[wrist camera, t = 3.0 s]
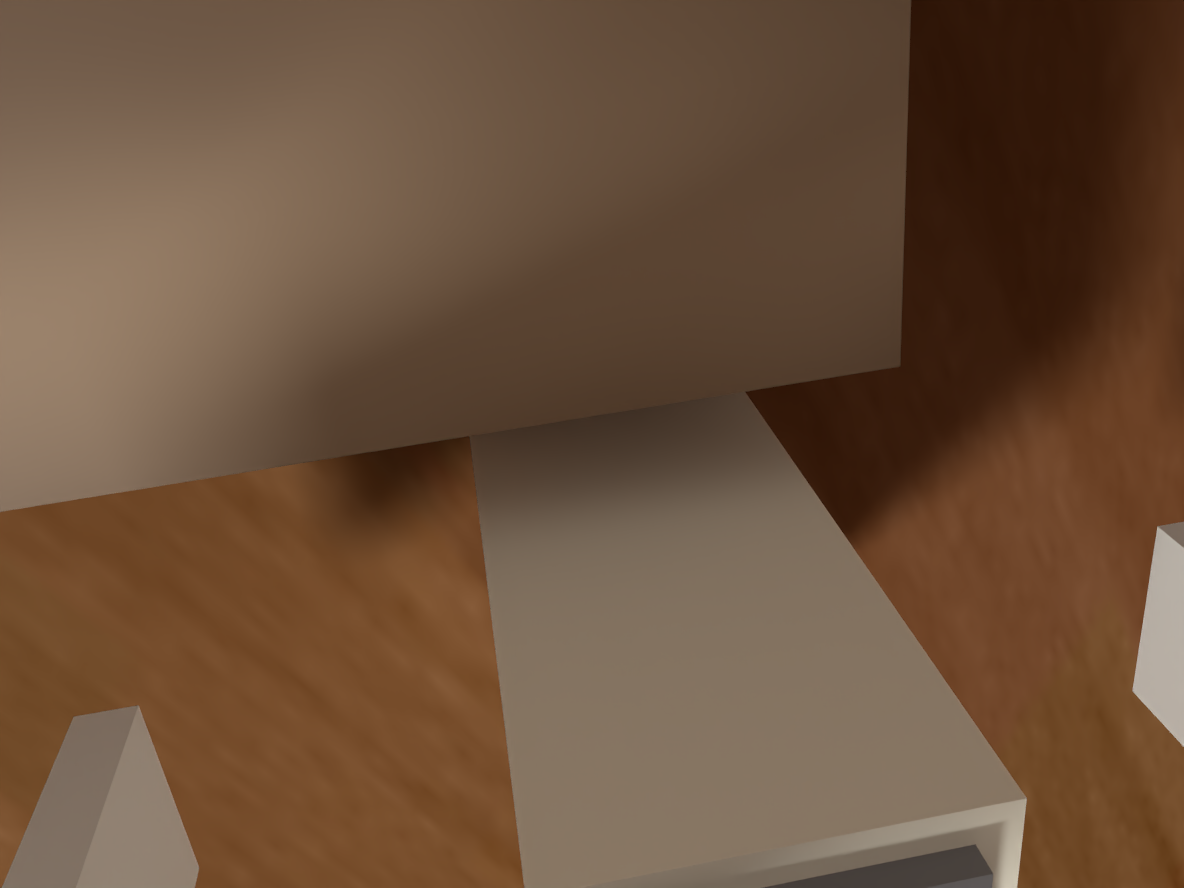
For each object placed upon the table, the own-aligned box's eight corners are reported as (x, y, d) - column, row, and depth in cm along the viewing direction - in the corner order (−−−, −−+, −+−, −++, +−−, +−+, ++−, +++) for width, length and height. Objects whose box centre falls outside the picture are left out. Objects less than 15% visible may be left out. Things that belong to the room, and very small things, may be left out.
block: (466, 408, 16) (529, 931, 8) (727, 366, 17) (1045, 827, 8) (511, 672, 18) (597, 1290, 10) (740, 631, 19) (1002, 1197, 11)
